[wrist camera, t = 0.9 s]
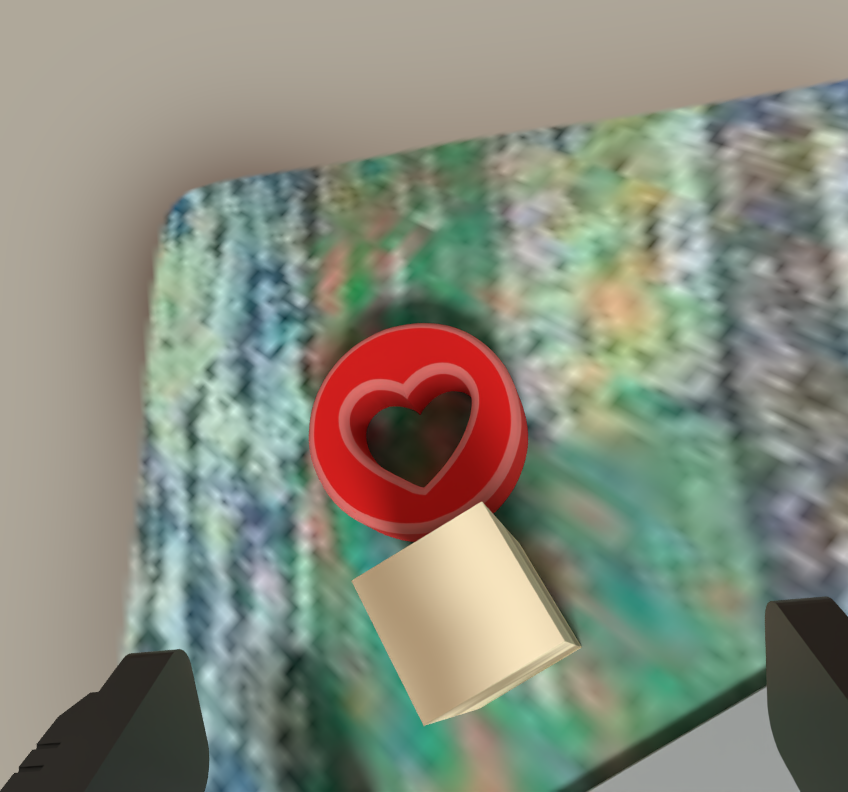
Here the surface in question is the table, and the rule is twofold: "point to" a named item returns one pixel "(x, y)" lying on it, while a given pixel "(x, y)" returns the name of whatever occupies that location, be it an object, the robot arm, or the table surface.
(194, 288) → the table surface
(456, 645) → the beech block
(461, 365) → the decorative ornament
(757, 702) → the grey mat
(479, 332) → the table surface
